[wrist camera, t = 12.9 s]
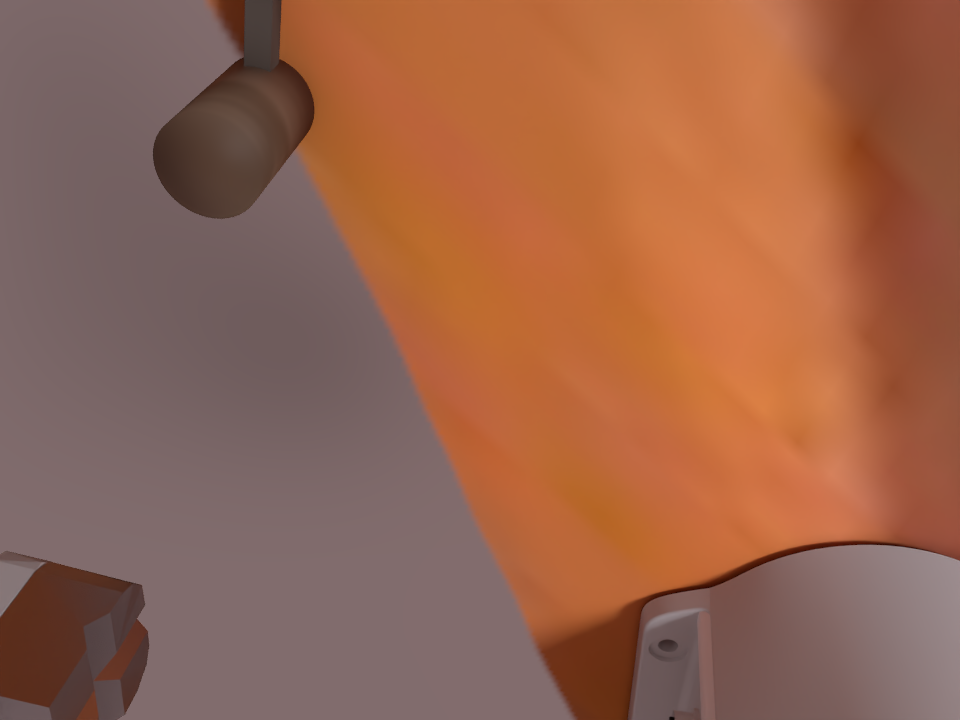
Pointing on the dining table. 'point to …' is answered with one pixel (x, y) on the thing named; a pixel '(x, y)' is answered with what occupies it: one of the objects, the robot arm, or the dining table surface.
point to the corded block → (237, 125)
